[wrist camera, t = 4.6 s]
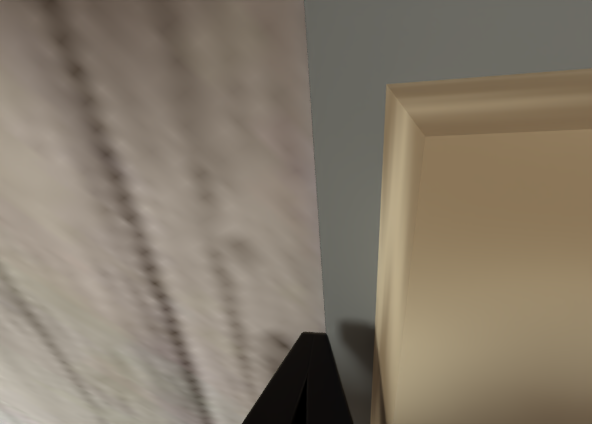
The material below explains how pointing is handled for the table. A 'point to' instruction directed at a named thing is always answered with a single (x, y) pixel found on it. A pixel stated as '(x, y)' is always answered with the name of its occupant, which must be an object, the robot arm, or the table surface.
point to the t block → (485, 252)
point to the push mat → (371, 118)
